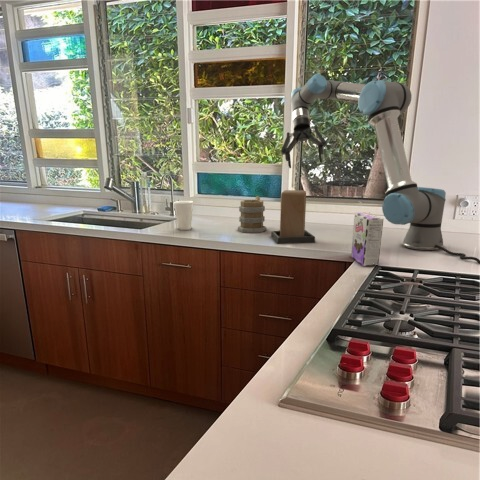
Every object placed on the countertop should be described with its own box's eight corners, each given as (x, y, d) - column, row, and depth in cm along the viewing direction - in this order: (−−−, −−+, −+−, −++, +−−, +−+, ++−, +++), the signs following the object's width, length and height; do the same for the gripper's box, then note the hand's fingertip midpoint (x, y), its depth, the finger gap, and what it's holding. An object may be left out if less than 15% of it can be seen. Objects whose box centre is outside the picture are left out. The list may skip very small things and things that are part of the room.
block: (302, 240, 197) (305, 192, 190) (279, 240, 199) (280, 192, 192) (304, 236, 207) (306, 190, 199) (282, 235, 208) (283, 189, 201)
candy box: (350, 257, 171) (354, 212, 165) (366, 256, 172) (370, 211, 166) (362, 266, 158) (366, 218, 152) (379, 266, 159) (384, 217, 153)
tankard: (260, 233, 217) (261, 200, 212) (235, 231, 221) (235, 199, 215) (271, 226, 235) (272, 196, 229) (248, 225, 239) (248, 195, 233)
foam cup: (198, 228, 231) (197, 201, 226) (186, 231, 224) (185, 203, 219) (183, 226, 236) (181, 200, 231) (171, 229, 229) (169, 202, 224)
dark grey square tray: (314, 242, 196) (315, 236, 196) (277, 243, 195) (277, 237, 194) (305, 235, 211) (305, 230, 210) (271, 236, 210) (271, 230, 209)
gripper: (330, 120, 209) (334, 162, 204) (276, 132, 216) (279, 173, 211) (328, 110, 202) (332, 153, 197) (272, 122, 209) (275, 164, 204)
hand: (305, 163), depth 204 cm, fingers open, 13 cm apart
